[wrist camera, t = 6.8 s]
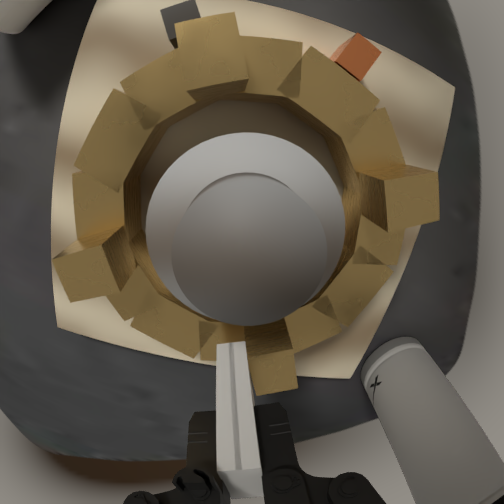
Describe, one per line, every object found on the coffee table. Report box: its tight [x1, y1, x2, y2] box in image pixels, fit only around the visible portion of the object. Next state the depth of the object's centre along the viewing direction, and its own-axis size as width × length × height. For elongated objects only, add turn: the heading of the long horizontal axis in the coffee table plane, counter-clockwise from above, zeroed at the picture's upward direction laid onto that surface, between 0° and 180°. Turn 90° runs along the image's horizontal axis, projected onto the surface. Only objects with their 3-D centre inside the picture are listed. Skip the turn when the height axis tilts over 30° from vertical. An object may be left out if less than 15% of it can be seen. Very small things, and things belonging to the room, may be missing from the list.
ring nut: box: [52, 12, 439, 396], centre depth 12 cm, size 16×18×5 cm
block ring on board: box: [51, 0, 455, 379], centre depth 13 cm, size 22×22×10 cm
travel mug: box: [361, 337, 504, 504], centre depth 14 cm, size 6×7×20 cm
